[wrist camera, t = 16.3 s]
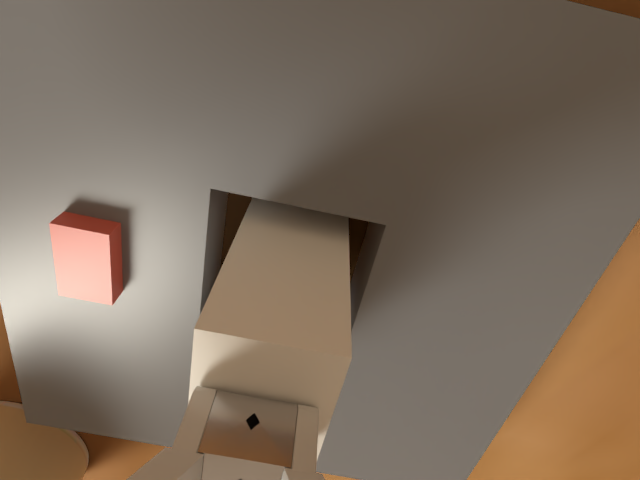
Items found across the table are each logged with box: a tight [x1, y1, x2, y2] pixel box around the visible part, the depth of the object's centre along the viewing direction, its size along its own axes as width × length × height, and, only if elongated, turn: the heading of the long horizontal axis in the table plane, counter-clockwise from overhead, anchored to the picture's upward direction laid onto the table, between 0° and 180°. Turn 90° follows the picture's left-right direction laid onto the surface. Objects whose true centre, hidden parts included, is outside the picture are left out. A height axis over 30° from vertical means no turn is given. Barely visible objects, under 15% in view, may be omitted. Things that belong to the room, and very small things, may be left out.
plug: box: [188, 197, 352, 459], centre depth 15 cm, size 7×4×8 cm, turn 168°
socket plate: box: [0, 0, 640, 480], centre depth 16 cm, size 20×20×4 cm
